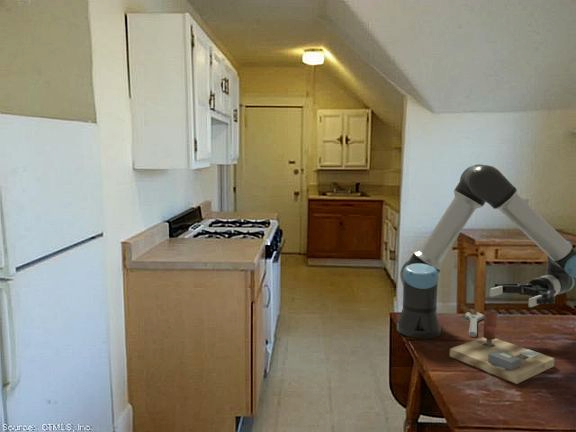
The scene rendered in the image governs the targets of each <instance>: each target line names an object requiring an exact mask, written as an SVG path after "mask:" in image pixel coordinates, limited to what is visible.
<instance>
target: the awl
mask: <svg viewBox="0 0 576 432" xmlns="http://www.w3.org/2000/svg"><path fill="white" fill-rule="evenodd" d="M497 319H498V314H497V312H495V311H490V310H489V311H484V314H483V331H482V332H483V335H482V337H484V338H486V346H488V347H492V340H493V339H495V338H496V337H497V335H496V333H497V321H498V320H497ZM496 339H497V338H496Z"/></svg>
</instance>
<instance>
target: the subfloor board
mask: <svg viewBox="0 0 576 432" xmlns="http://www.w3.org/2000/svg"><path fill="white" fill-rule="evenodd" d="M498 350H499V351H502V352H505V353H508V354H510V355H513V356H516V357H519V358H521V366H520V367H518V368H516V369H513V370H511V371H510V370H508V369H505V368H503V367H500V366H497V365H495V364H492V363H490V362H488V355H489V354H490V353H492V352H495V351H498ZM449 357H450V358H453V359H456V360H457V361H460V362H463V363H465V364H468V365H470V366H472V367H474V366H475V368H476V369H480V370H482V371H484V372H487V373H489V374H491V375H493V376H497V377H499V378H501V379H504V380H506V381H509V382H511V383H513V384H515V385H517V384H520V383H522V382H523V381H526V380H527V379H530V378H532V377H534V376H536V375H539V374H541V373H542V372H544V371H548V370H550V369H551V368H553V367H555V357H552V356H549V355H546V354H543V353H541V352H537V351H535V350H531V349H529V348H525V347H522V346H519V345H516V344H513V343H511V342H507V341H505V340H503V339H500V338H495V339H493V340H492V347H488V346H486V338H484V337H483V336H482V337H479V338H476V339H473V340H471V341H468V342H465V343H463V344H460V345H456V346H453V347H451V348H449Z"/></svg>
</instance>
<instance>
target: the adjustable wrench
mask: <svg viewBox="0 0 576 432" xmlns="http://www.w3.org/2000/svg"><path fill="white" fill-rule="evenodd" d="M464 319H467V320H469V321H470V323H469V329H468V336H469V337H471V338H477V336H478V322H479V321H481V320H484V314H482V313H480V312H477V311H476V313H475V314H472V313H470V311H469V312H468V311H467V312H465V315H464Z"/></svg>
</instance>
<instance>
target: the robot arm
mask: <svg viewBox="0 0 576 432" xmlns="http://www.w3.org/2000/svg"><path fill="white" fill-rule="evenodd" d="M453 193H454V197H453V199H452V200H451V202H450V204H449V205H448V207H447V208H446V210H445V212H444V213H443V215H442V216H441V218H440V219H439V221H438V222H437V224H436V226H435V227H434V229H433V230H432V232H431V233H430V235H429V236H428V238H427V239H426V241H425V242H424V243H423V245H422V247H421V248H420V250H417V251H414V252H413V253H412V255H411V256H410V258H409V260H407V261H406V262H405V263H404V264H403V265H402V267H401V269H400V282H401V283H402V287H403V288H402V290H403V291H402V309H401V312H400V314H399V316H398V317H399V318H398V320H397V323H396V330H397V332H398V333H399V334H401V335H404V336H405V337H409V338H414V339H422V340H423V339H424V340H425V339H426V340H427V339H434V338H437V337H440V336H441V333H442V332H441V330H442V329H441V328H442V327H441V324H440V320H439V316H438V311H437V310H438V309H437V307H438V306H437V305H438V287H439V286H438V285H439V283H438V282H439V273H440V271H441V270H442V266H441V262H442V261H443V259H444V258H445V256H446V255H447V253H448V252H449V251H450V249H451V248H452V246H453V244H454V242H455V241H456V240H457V238H458V237H459V235H460V233H461V232H462V231H463V229H464V227H465V226H466V225H467V223H468V222H469V220H470V219H471V217H472V215H474V212H475V211H476V210H477V209H481V208H483V207H484V205H485V204H486V203H487V204H488V205H490V207H492V208H493V209H494V210H499V211H500V212H501V213H502V214H503V215H505V217H507V218H508V219H509V221H511V223H513V224H514V225H515V226H516V227H517V228H518V229H519V230H520V231H521V232H522V233H524V234H525V235H526V236H527V237H528V238H529V239H530V240H531V241H532V242H533V243H534V244H536V246H537V248H540V249H541V250H542V251H543V253H545V254H546V255H547V260H546V263H547V264H546V275H542V276H539V277H535V278H532V279H531V280H530V281H529V282H528V283H521V282H519V281H517V282H509V283H508V282H507V283H506V282H505V283H504V282H502V283H494V287H491V288H489V295H488V296H489V297H491V298H493V297H496V296H500V295H503V294H519V295H520V296H522V295H523V296H525V295H527V296H531V297H529V298H528V308H533V307H535V306H539V305H542V304H543V305H546V304H548V305H549V306H553V305H554V303H555V302H554V300H555V299H556V298H557V297H556V296H557V295H561V294H565V293H568V292H569V291H571V290H572V289H573V288H574V287H575V284H576V283H575V282H576V281H575V278H576V248H574V247H573V243H572V242H571V241H568V240H566V239H565V238H564V236H563V235H561V234H560V233H559V232H558V231H557V230H556V229H555V228H554V227H552V225H550V224H549V222H548V221H547V220H545V219H544V217H542V216H541V215H540V214H539V213H538V212H537V211H536V210H535V209H534V208H533V207H532V206H531V205H530V204H528V202H527V201H525V200H524V199H523V198H522V197H521V196H520V195H519V194H518V188H517V187H515V186H514V185H513V184H512V183H511V182H510V180H508V178H507V177H506V176H504V174H503V173H502V172H501V171H500V170H499V169H497V168H496V167H494V166H492V165H487V164H485V165H484V164H480V163H479V164H473V165H470V166H468V167H467V168H465V170H463V172H462V173H461V175H460V179H459V182H458V184H457V185H456V187H455V188H454V190H453Z"/></svg>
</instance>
